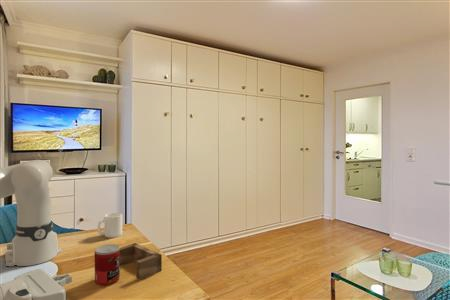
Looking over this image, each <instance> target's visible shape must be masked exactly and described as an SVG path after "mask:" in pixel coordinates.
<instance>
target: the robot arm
mask: <svg viewBox="0 0 450 300" xmlns="http://www.w3.org/2000/svg"><path fill="white" fill-rule="evenodd" d="M53 174H54V169H53V167H52V166H51V165H50V163H48V161H45V160H42V159H32V160H28V161H24V162H20V163H16V164H12V165H9V166H5V167H1V168H0V199H4V198H7V197H10V196H12V195H14V197H15V200H16V201H15V202H16V214H17V215H16V217H17V224H16V226H15V236H14V237H13V239H12V240H11V243H7V244H6V250H7V251H5V253H4V259H5V260H4V262H5V261H6V264H5V267H6V266H9V267H15V266H14V265H17V266H16V267H26V266H27V267H28V266H34V265H40V264H43V263H46V262H48V261H51V260H52V259H54V258H56V256H57V255H58V254H60V253H61V252H62V251H63V250H62V248H61V247H58V245H59V244H58V235H57V234H58V233H57V232H55V231H53V229H54V223H53V220H52V201H51V196H50V187H49V182H50V181H51V180H52V178H53ZM72 282H73V277H72V276H71V275H69V274H68V273H65V274H62V275H61V274H60V275H52V276H50V275H49V274H48V273H47V272H46V271H45V270H44V269H42V268H36V269H32V270H30V271H28V272H27V271H26V272H24V273H21V274H19V275H17V276H15V277H14V278H13V279H12V280H9V281H6V282H2V283H0V300H67V297H66V296H67V293H66V292H67V291H66V289H65V288H64V287H65V286H66V285H68V284H70V283H72Z"/></svg>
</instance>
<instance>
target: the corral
mask: <svg viewBox="0 0 450 300" xmlns="http://www.w3.org/2000/svg"><path fill="white" fill-rule="evenodd" d="M119 249H120V266H123V265H126V264H129V263H132V262H135V263H136V279H137V280H139V281H141V280H144V279H146V278H149V277H151V276H153V275H155V274H157V273H159V272H162V271H163V270H162V269H163V268H162V263H163V260H162V253H159V252H157V251H155V250H152V249H149V248H147V247H145V246H142V245H140V244H138V243H135V242H134V243H131V244H128V245H125V246H122V247H119Z"/></svg>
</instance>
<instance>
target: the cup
mask: <svg viewBox="0 0 450 300" xmlns="http://www.w3.org/2000/svg"><path fill="white" fill-rule="evenodd" d="M103 218H104V219H101V220H99V221H98V224H97V232H98V234H99V235H102V236H105V238H108V239H109V238H111V239H113V238H119V237H120V236H122V234H123V213H121V212H110V213H106V214H105V215H104V217H103ZM102 223H104V227H103V228H104V229H103V230H104V231H102V230H101V225H102Z"/></svg>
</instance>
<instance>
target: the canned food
mask: <svg viewBox="0 0 450 300" xmlns="http://www.w3.org/2000/svg"><path fill="white" fill-rule="evenodd" d="M119 248H120V246H119V244H114V243H113V244H111V243H110V244H109V243H106V244H103V245H99V246H97V247H96V248H95V249H94V282H95V284H96V285H97V286H100V287H101V286H102V287H103V286H107V287H108V286H110V285H111V286H112V285H113V284H116V283H117V282H118V281H119V280H120V276H121V273H120V272H121V269H120V249H119Z"/></svg>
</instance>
